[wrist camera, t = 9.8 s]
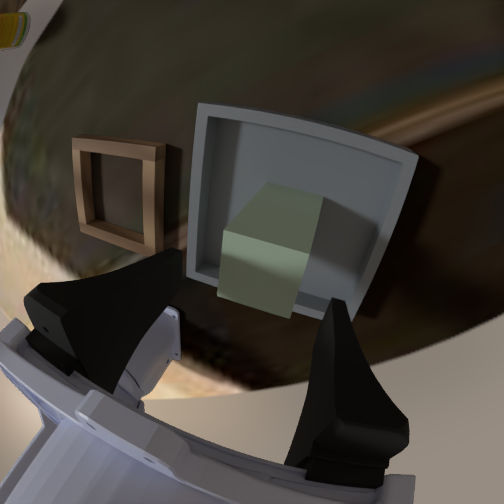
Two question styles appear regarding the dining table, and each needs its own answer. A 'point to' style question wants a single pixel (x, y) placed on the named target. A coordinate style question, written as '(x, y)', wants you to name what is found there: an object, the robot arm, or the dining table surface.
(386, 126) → the dining table surface
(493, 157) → the dining table surface
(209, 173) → the tray
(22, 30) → the supplement bottle
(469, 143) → the dining table surface
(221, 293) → the green elongated block
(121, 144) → the square brown frame
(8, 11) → the square serving dish
